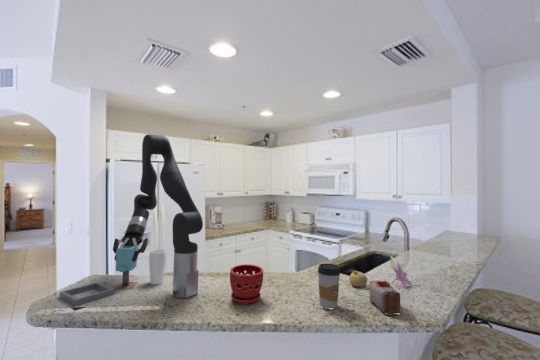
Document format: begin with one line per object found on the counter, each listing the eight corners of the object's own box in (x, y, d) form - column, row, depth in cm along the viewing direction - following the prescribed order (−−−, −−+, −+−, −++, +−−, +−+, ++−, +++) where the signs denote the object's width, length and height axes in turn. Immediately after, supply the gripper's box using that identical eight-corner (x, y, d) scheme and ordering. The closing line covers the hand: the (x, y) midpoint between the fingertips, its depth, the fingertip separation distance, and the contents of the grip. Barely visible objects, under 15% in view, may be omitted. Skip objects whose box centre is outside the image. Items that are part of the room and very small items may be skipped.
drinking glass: (158, 289, 112) (160, 253, 113) (144, 287, 114) (146, 252, 114) (167, 283, 119) (169, 250, 120) (154, 282, 120) (155, 249, 121)
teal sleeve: (136, 266, 115) (137, 245, 116) (129, 271, 108) (130, 249, 108) (121, 266, 114) (122, 246, 115) (114, 272, 107) (114, 249, 107)
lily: (391, 292, 118) (402, 276, 115) (377, 274, 129) (388, 258, 126) (411, 298, 121) (423, 282, 118) (396, 280, 132) (407, 265, 129)
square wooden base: (138, 285, 116) (139, 266, 116) (131, 292, 108) (132, 272, 108) (119, 285, 115) (119, 267, 115) (110, 293, 107) (111, 273, 107)
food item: (365, 300, 106) (366, 275, 107) (385, 299, 107) (385, 275, 107) (383, 316, 93) (383, 287, 93) (404, 316, 93) (404, 287, 94)
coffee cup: (326, 313, 94) (327, 270, 95) (312, 303, 101) (313, 264, 102) (344, 308, 98) (345, 267, 98) (329, 300, 105) (330, 262, 106)
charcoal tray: (113, 298, 102) (114, 288, 102) (75, 310, 91) (75, 300, 91) (97, 290, 109) (97, 282, 109) (59, 301, 98) (59, 291, 98)
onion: (352, 281, 128) (352, 266, 128) (369, 285, 123) (369, 270, 123) (346, 286, 121) (346, 270, 121) (364, 290, 117) (364, 274, 117)
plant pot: (222, 299, 104) (223, 268, 104) (247, 290, 113) (248, 262, 114) (244, 310, 95) (245, 276, 95) (269, 299, 104) (270, 269, 105)
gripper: (117, 223, 119) (103, 256, 107) (151, 223, 121) (141, 255, 109) (122, 233, 124) (109, 266, 112) (154, 232, 126) (145, 265, 114)
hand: (125, 260), depth 110 cm, fingers closed on teal sleeve, 6 cm apart
